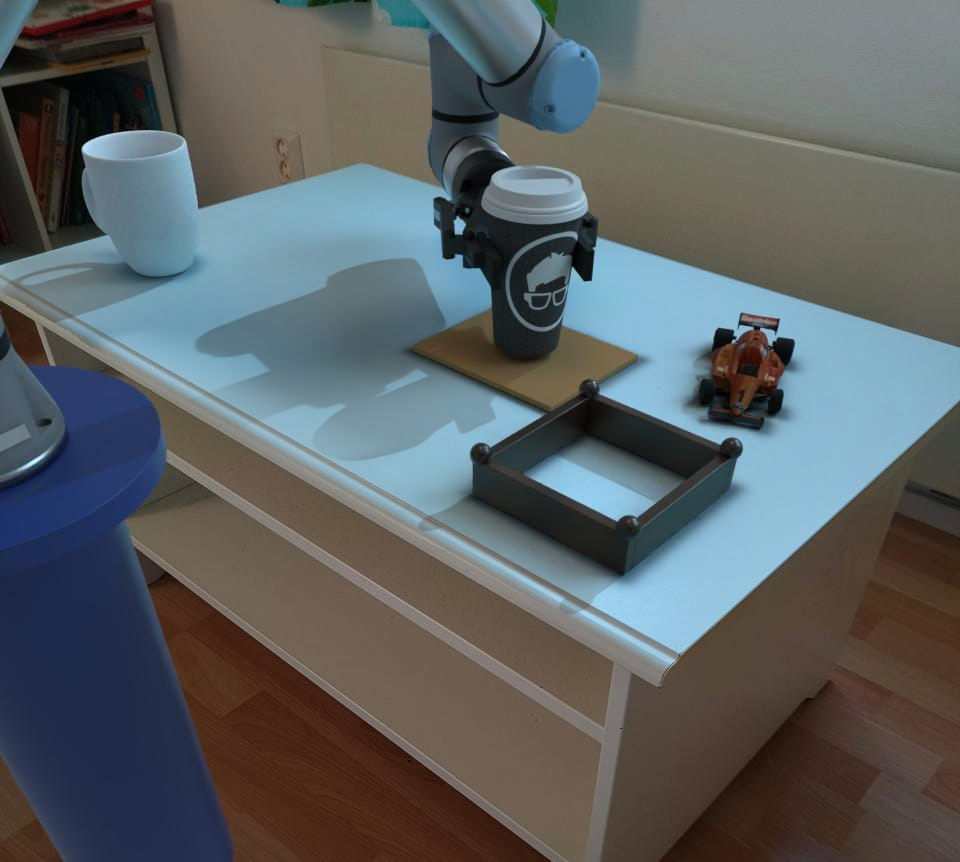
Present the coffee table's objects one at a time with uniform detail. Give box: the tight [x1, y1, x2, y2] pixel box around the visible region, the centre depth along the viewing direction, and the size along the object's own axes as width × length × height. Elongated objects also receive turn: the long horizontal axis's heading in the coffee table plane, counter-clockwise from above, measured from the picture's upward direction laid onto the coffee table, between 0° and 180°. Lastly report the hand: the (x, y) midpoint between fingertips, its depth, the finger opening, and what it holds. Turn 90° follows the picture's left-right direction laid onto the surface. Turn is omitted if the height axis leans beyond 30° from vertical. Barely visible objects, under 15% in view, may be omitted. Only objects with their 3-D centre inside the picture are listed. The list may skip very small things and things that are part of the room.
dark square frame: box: [469, 379, 744, 576], centre depth 71 cm, size 16×16×5 cm
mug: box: [81, 129, 200, 278], centre depth 101 cm, size 15×11×13 cm
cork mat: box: [411, 307, 639, 413], centre depth 89 cm, size 18×14×1 cm
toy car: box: [697, 312, 796, 428], centre depth 84 cm, size 8×16×4 cm, turn 162°
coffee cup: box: [481, 165, 589, 357], centre depth 83 cm, size 10×10×15 cm
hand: (543, 270), depth 79 cm, fingers closed on coffee cup, 8 cm apart
